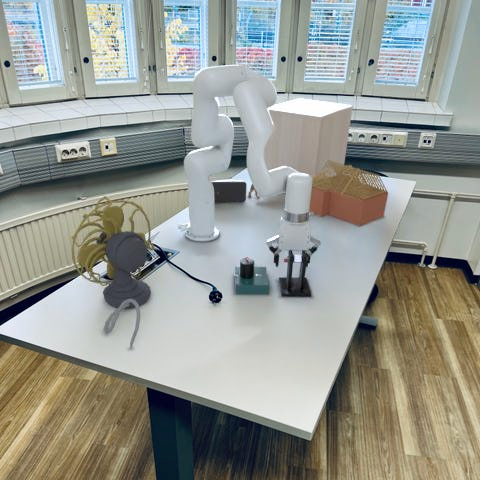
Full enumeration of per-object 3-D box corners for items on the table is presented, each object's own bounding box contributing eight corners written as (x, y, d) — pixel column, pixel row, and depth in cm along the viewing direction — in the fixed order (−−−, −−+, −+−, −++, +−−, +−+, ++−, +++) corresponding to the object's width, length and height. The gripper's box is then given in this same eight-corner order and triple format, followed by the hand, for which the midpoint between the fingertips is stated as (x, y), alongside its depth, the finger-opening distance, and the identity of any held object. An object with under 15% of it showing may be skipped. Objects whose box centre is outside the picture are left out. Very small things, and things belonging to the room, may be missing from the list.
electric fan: (149, 274, 151) (139, 184, 134) (207, 317, 131) (205, 217, 114) (72, 301, 137) (50, 203, 120) (125, 354, 117) (108, 245, 100)
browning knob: (254, 278, 143) (254, 263, 140) (240, 278, 143) (240, 263, 140) (253, 272, 147) (253, 257, 144) (239, 272, 147) (239, 257, 144)
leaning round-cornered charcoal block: (245, 199, 210) (245, 178, 205) (246, 203, 206) (246, 182, 201) (209, 200, 209) (209, 179, 203) (209, 203, 205) (209, 182, 200)
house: (301, 208, 202) (305, 163, 191) (336, 197, 215) (342, 154, 204) (351, 228, 185) (359, 181, 174) (386, 215, 197) (396, 170, 186)
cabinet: (293, 166, 253) (299, 98, 234) (342, 177, 240) (353, 105, 221) (259, 183, 229) (263, 108, 210) (312, 195, 216) (321, 116, 197)
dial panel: (233, 294, 142) (233, 284, 140) (232, 275, 152) (232, 266, 150) (268, 294, 142) (268, 284, 140) (265, 275, 152) (266, 266, 150)
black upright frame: (278, 280, 149) (281, 245, 142) (306, 280, 150) (310, 246, 143) (281, 296, 141) (284, 260, 134) (310, 296, 141) (315, 260, 134)
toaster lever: (283, 264, 150) (283, 256, 150) (300, 264, 150) (300, 257, 150) (288, 262, 138) (288, 254, 138) (307, 262, 138) (307, 254, 138)
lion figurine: (265, 190, 221) (266, 171, 215) (274, 193, 218) (275, 174, 213) (244, 198, 212) (245, 178, 207) (253, 201, 209) (254, 181, 204)
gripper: (322, 211, 145) (315, 259, 154) (267, 210, 144) (264, 259, 154) (326, 220, 139) (319, 270, 148) (269, 219, 138) (265, 270, 148)
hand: (291, 265), depth 151 cm, fingers open, 9 cm apart
